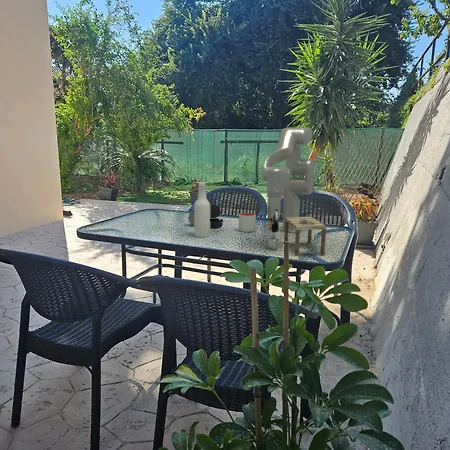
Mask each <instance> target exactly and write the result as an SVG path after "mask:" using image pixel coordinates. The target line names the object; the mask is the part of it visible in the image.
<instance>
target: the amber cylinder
mask: <svg viewBox="0 0 450 450" xmlns="http://www.w3.org/2000/svg"><path fill="white" fill-rule="evenodd" d="M279 225H280V222H279V220H278V231H280V227H279ZM271 229H272V220H270V221H269V220H268V230H269V231H271ZM270 233H271V234H270V235H271V236H270V237H268V238H267V249H268V250H270V251H277V250H279V238H277V237H276V232H272V231H271V232H270Z"/></svg>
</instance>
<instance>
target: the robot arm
mask: <svg viewBox="0 0 450 450" xmlns="http://www.w3.org/2000/svg"><path fill="white" fill-rule="evenodd" d="M312 139H313V130H312V129H311V128H310V127H285V128H282V129H281V130H280V135H279V139H278V143H277V147H276V150H275V151H273V152H271V153H270V154H269V155H268V156H267V158H266V159H265V160H264V162H263V166H262V171H261V178H262V180H263V181H265V182H266V183H267V186H266V197H267V206H266V215H267V216H268V217H269V219H268V222H269V221H270V220H272V229H271V230H270V231H272V232H275V233H278V232H279V231H280V232H283V233H285V217H300V209H301V208H300V207H301V201H300V199H299V196H297V195H311V194H312V193H313V191H314V182H315V181H314V177H315V176H314V175H315V164H314V161H313V159H310V158H302V148H301V146H300V145H308V144H309V143H311V141H312ZM283 161H285V166H274V165H275V164H278V163H280V162H283ZM292 176H293V177H292ZM295 176H298V177H295ZM299 176H303V177H299ZM282 198H283V207H282V226H281V227H279V230H278V221H279V219H280V218H281V205H282V204H281V201H282V200H281V199H282ZM301 231H302V230H300V232H301ZM288 233H292V234H293V233H295V234H296V229H295V228H294V227H293V226H291V225H290V224H289V225H288Z"/></svg>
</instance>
